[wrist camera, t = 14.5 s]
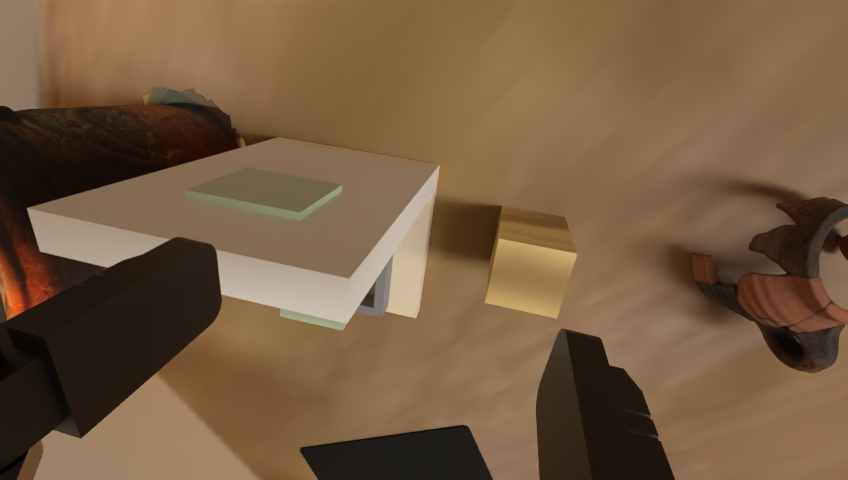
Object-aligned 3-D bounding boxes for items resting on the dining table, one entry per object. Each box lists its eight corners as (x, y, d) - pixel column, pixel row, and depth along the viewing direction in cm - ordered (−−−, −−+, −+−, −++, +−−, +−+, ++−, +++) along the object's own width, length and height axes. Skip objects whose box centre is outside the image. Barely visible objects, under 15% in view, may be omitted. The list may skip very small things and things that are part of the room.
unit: (279, 132, 34) (23, 199, 16) (440, 159, 32) (349, 269, 14) (283, 278, 40) (99, 444, 22) (419, 309, 38) (336, 517, 20)
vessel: (146, 236, 41) (-144, 358, 23) (105, 87, 36) (-315, 93, 18) (273, 245, 38) (59, 393, 20) (248, 86, 33) (-72, 91, 15)
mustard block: (501, 205, 32) (498, 238, 26) (564, 217, 32) (577, 253, 25) (490, 260, 34) (484, 302, 28) (548, 272, 34) (556, 318, 27)
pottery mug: (667, 222, 31) (778, 217, 23) (767, 187, 32) (905, 170, 24) (708, 368, 31) (831, 414, 23) (804, 328, 33) (952, 357, 25)
